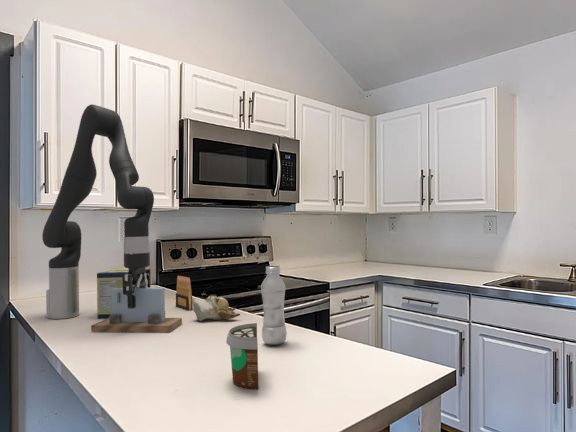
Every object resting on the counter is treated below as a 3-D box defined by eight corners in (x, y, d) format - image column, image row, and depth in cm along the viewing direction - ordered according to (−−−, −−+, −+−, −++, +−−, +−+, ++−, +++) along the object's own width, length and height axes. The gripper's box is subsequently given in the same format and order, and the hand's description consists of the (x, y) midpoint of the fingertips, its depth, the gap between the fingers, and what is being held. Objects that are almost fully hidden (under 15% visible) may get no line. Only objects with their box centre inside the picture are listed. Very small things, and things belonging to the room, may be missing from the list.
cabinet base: (91, 332, 123) (91, 316, 123) (109, 323, 133) (109, 309, 133) (169, 332, 120) (169, 317, 121) (181, 324, 130) (181, 309, 130)
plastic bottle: (290, 341, 109) (288, 265, 110) (281, 348, 103) (280, 268, 103) (267, 339, 112) (266, 264, 112) (257, 346, 105) (256, 267, 105)
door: (110, 322, 126) (110, 289, 126) (115, 320, 129) (114, 288, 129) (161, 322, 124) (160, 289, 124) (164, 320, 127) (164, 287, 127)
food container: (228, 370, 89) (227, 323, 89) (257, 369, 89) (256, 322, 89) (224, 394, 76) (223, 339, 76) (258, 392, 77) (257, 338, 77)
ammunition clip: (192, 310, 152) (192, 277, 152) (188, 311, 150) (187, 277, 151) (180, 306, 160) (179, 274, 160) (175, 306, 159) (175, 275, 159)
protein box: (142, 308, 156) (142, 267, 156) (127, 318, 141) (127, 272, 141) (114, 309, 156) (113, 267, 156) (96, 319, 140) (96, 273, 140)
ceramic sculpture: (191, 291, 140) (236, 291, 144) (190, 317, 139) (235, 316, 144) (193, 297, 129) (241, 296, 133) (192, 325, 129) (240, 323, 133)
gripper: (136, 250, 135) (136, 301, 134) (112, 253, 120) (113, 310, 120) (158, 249, 134) (159, 301, 134) (137, 253, 120) (138, 310, 119)
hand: (137, 305), depth 127 cm, fingers open, 7 cm apart
